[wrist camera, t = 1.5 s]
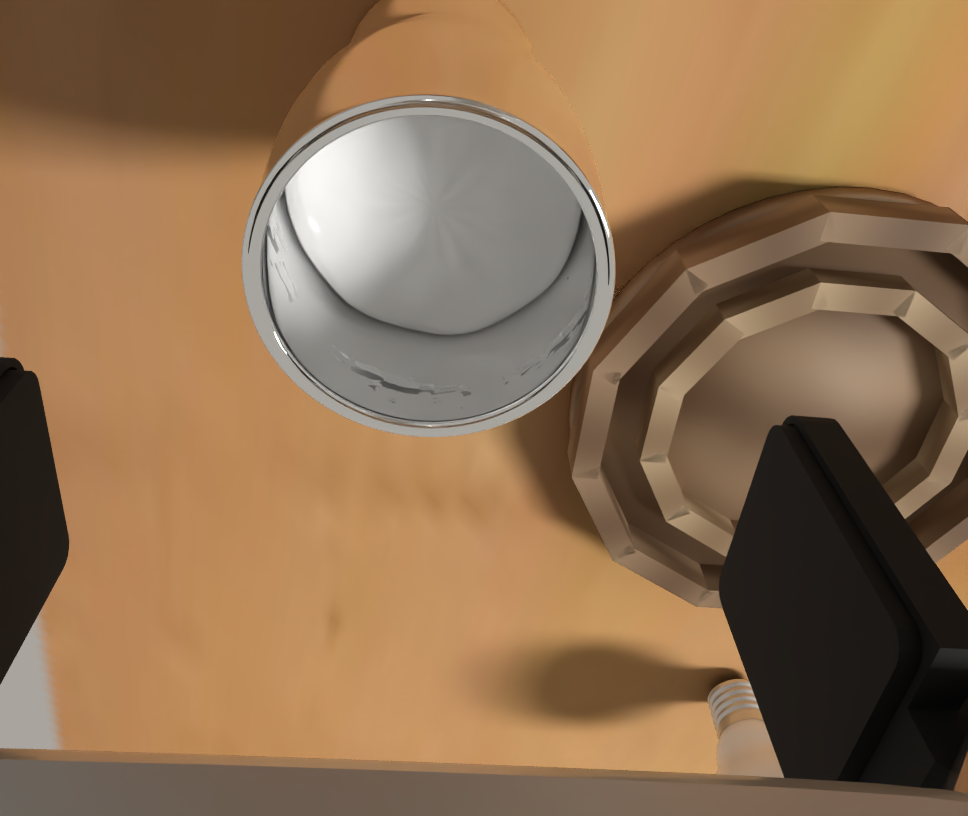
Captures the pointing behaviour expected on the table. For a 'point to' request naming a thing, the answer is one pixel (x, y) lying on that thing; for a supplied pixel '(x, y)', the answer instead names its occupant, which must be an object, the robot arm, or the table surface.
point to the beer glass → (431, 227)
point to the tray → (776, 374)
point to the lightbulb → (741, 732)
